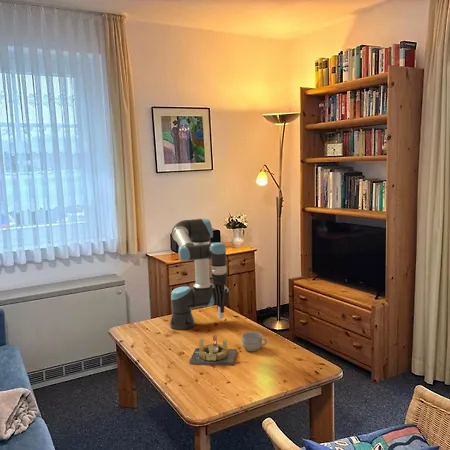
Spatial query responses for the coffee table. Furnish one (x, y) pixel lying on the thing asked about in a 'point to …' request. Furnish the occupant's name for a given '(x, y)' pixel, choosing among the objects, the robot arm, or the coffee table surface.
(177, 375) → the coffee table surface
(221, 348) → the ring nut
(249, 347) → the teacup
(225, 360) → the housing
